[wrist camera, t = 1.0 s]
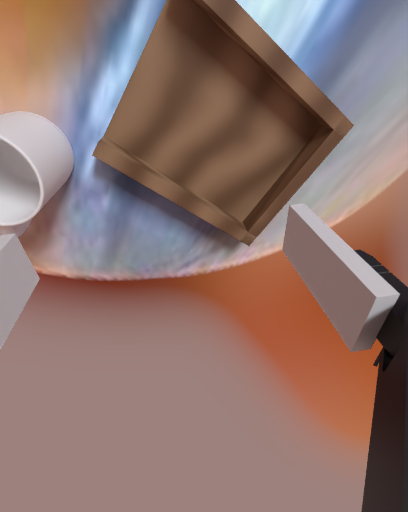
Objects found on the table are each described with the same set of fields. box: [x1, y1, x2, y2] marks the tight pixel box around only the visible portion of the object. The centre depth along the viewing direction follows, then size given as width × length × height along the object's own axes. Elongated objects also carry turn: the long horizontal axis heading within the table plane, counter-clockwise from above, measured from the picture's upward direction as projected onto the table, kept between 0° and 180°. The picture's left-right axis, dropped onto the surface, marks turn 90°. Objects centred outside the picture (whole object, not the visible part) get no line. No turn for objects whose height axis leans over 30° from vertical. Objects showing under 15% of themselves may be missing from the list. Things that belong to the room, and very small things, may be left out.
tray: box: [92, 0, 354, 246], centre depth 30 cm, size 22×18×4 cm
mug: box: [0, 111, 74, 237], centre depth 27 cm, size 12×8×10 cm
